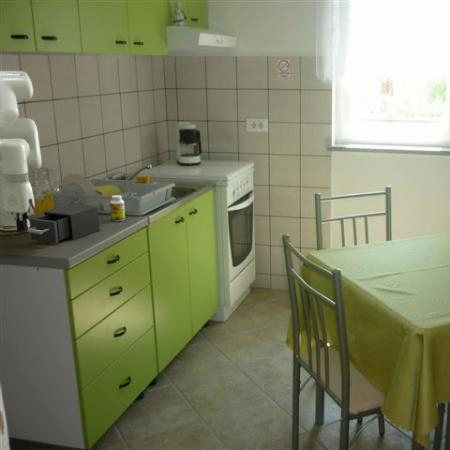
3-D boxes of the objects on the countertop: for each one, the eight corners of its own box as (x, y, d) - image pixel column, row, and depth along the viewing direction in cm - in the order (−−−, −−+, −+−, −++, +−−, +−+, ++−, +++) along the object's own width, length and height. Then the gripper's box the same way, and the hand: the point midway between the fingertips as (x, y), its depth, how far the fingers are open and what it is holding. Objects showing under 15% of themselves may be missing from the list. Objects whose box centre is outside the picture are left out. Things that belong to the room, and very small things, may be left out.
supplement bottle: (108, 220, 243) (106, 196, 241) (118, 217, 248) (116, 194, 245) (118, 222, 241) (116, 198, 238) (128, 219, 245) (126, 195, 243)
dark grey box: (73, 240, 216) (70, 214, 214) (46, 236, 220) (43, 211, 218) (99, 230, 229) (97, 206, 227) (74, 226, 234) (71, 203, 231)
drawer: (46, 246, 205) (44, 225, 203) (21, 243, 209) (18, 221, 207) (82, 233, 221) (80, 213, 219) (58, 230, 225) (56, 210, 223)
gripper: (-10, 178, 196) (-3, 231, 200) (24, 182, 191) (30, 236, 195) (8, 175, 203) (14, 226, 207) (42, 178, 197) (47, 230, 202)
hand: (22, 230), depth 201 cm, fingers closed
